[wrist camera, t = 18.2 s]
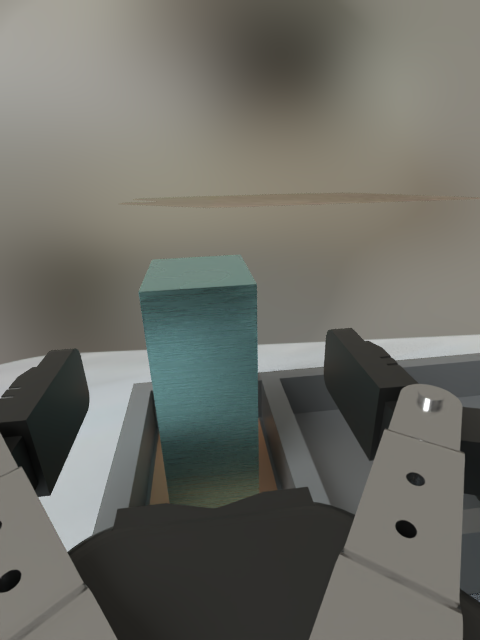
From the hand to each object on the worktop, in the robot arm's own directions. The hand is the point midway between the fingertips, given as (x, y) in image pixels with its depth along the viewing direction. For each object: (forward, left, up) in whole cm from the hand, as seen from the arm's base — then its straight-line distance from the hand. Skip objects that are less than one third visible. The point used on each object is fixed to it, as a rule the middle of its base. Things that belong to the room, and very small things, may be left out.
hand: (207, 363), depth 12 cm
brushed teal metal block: (0, -2, -7) cm, 8 cm away
